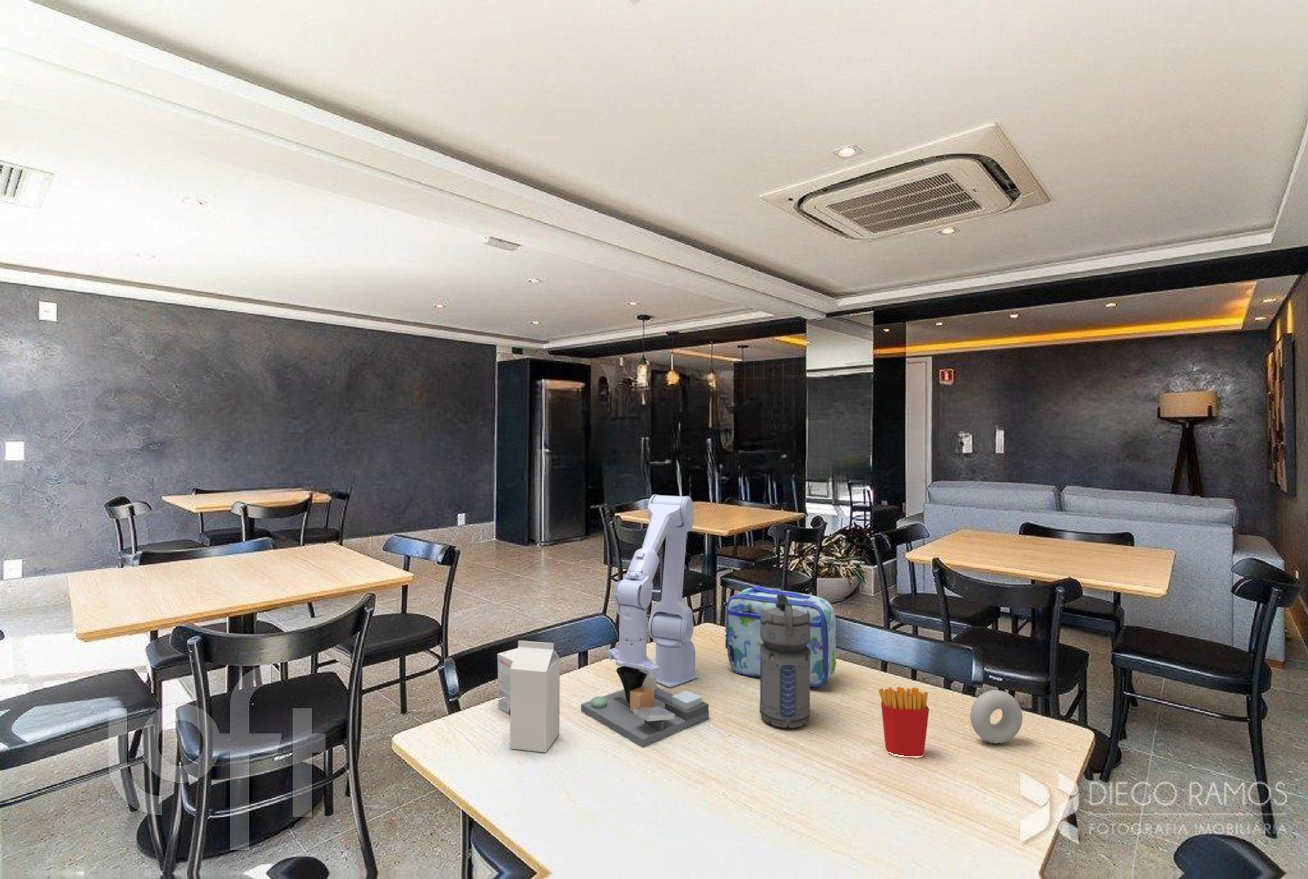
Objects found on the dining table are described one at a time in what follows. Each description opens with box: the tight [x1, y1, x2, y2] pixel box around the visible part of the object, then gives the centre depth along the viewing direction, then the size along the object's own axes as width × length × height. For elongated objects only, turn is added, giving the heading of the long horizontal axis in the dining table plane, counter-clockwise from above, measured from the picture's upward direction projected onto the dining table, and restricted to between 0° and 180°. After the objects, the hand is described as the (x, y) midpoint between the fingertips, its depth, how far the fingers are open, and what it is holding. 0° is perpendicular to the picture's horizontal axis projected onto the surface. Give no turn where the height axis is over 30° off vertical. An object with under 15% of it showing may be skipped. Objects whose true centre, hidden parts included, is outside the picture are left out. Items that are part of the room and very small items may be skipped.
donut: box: [969, 689, 1024, 744], centre depth 116 cm, size 10×3×10 cm, turn 96°
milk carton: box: [509, 640, 561, 753], centre depth 116 cm, size 7×7×19 cm
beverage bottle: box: [759, 594, 811, 729], centre depth 126 cm, size 10×13×25 cm
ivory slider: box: [642, 675, 658, 690], centre depth 135 cm, size 4×3×4 cm
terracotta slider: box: [630, 686, 654, 712], centre depth 125 cm, size 4×3×4 cm
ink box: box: [497, 647, 518, 715], centre depth 129 cm, size 9×5×12 cm, turn 44°
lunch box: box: [724, 585, 837, 688], centre depth 148 cm, size 26×11×21 cm, turn 58°
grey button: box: [672, 689, 703, 711], centre depth 126 cm, size 4×4×2 cm
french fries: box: [878, 686, 930, 756], centre depth 112 cm, size 8×4×12 cm, turn 83°
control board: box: [580, 686, 710, 748], centre depth 127 cm, size 18×20×3 cm
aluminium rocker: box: [633, 706, 675, 721], centre depth 119 cm, size 7×4×1 cm, turn 132°
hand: (632, 701), depth 128 cm, fingers closed
